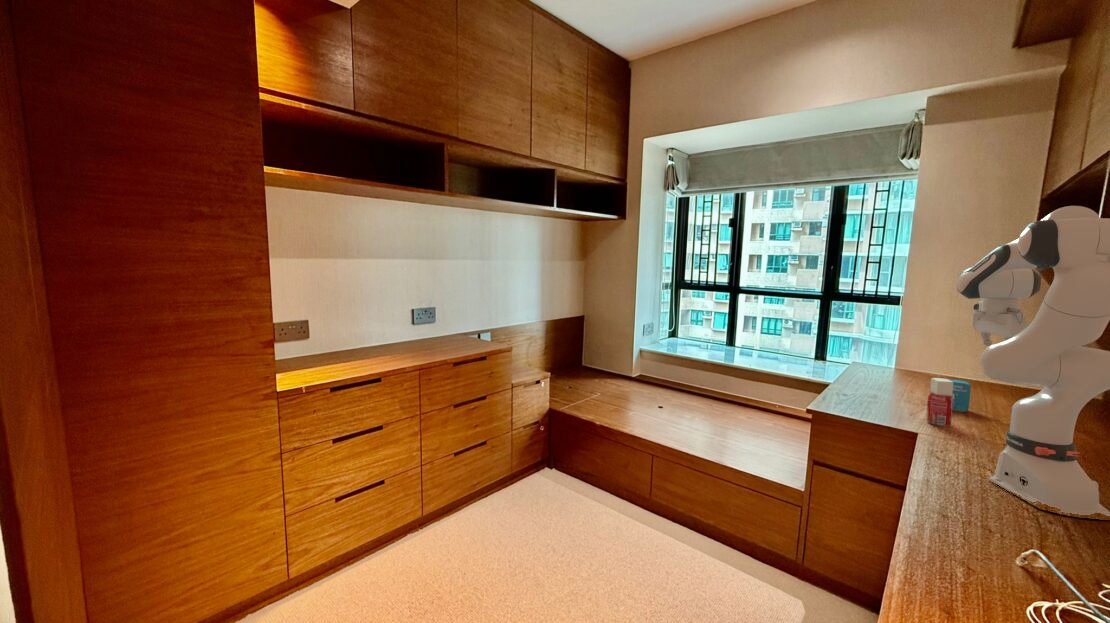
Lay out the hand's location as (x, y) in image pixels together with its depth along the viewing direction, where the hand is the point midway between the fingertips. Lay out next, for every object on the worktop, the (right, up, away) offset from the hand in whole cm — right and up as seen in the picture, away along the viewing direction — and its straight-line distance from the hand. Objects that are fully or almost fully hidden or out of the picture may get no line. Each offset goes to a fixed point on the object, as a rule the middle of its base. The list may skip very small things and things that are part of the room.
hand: (996, 347), depth 143 cm
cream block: (-5, -18, +15) cm, 24 cm away
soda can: (-5, -30, +17) cm, 35 cm away
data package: (+15, -28, +33) cm, 46 cm away
